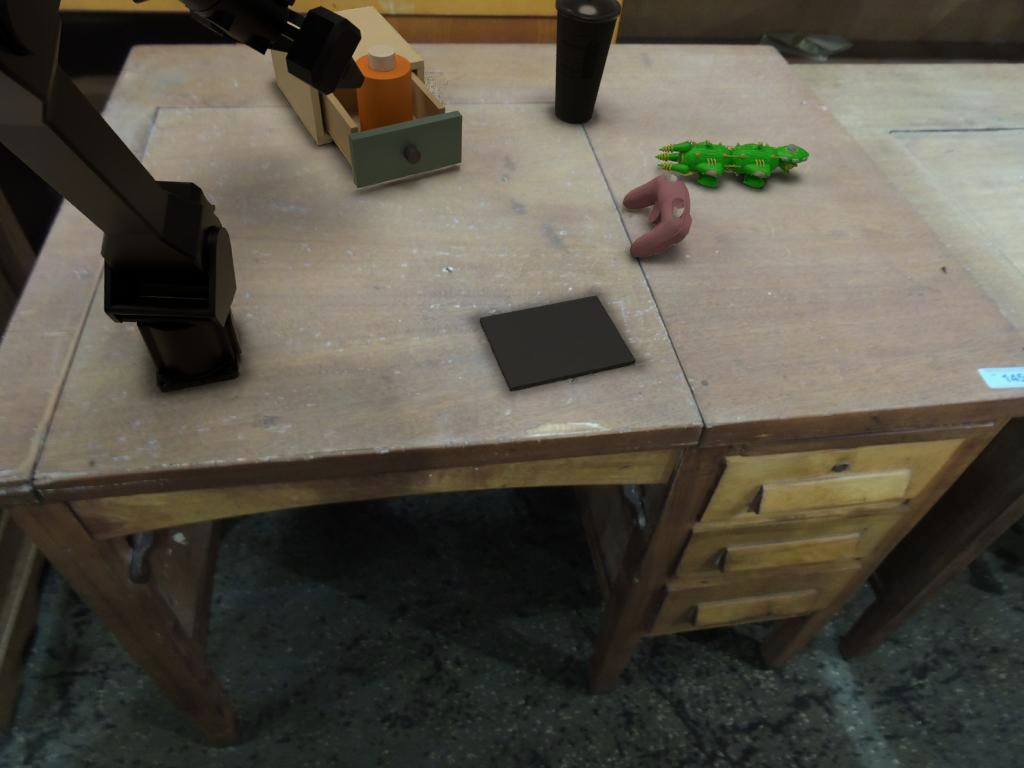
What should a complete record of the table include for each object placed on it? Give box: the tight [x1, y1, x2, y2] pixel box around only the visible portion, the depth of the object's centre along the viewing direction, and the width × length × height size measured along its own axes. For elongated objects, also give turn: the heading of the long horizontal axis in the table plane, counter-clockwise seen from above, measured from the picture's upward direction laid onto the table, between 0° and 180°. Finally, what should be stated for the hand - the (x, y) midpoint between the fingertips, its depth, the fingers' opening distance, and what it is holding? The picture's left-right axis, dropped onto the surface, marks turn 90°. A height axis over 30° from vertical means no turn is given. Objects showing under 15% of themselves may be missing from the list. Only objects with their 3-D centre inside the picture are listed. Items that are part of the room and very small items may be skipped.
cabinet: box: [269, 5, 426, 146], centre depth 91 cm, size 16×14×8 cm
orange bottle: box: [356, 45, 413, 132], centre depth 82 cm, size 6×6×10 cm
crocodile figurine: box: [654, 139, 810, 189], centre depth 87 cm, size 7×18×4 cm, turn 93°
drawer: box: [318, 70, 463, 189], centre depth 84 cm, size 16×13×6 cm
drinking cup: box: [554, 0, 623, 125], centre depth 88 cm, size 8×8×20 cm
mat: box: [479, 295, 637, 392], centre depth 68 cm, size 12×9×1 cm
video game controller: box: [622, 172, 693, 258], centre depth 78 cm, size 10×5×7 cm, turn 179°
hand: (330, 65), depth 74 cm, fingers open, 9 cm apart
